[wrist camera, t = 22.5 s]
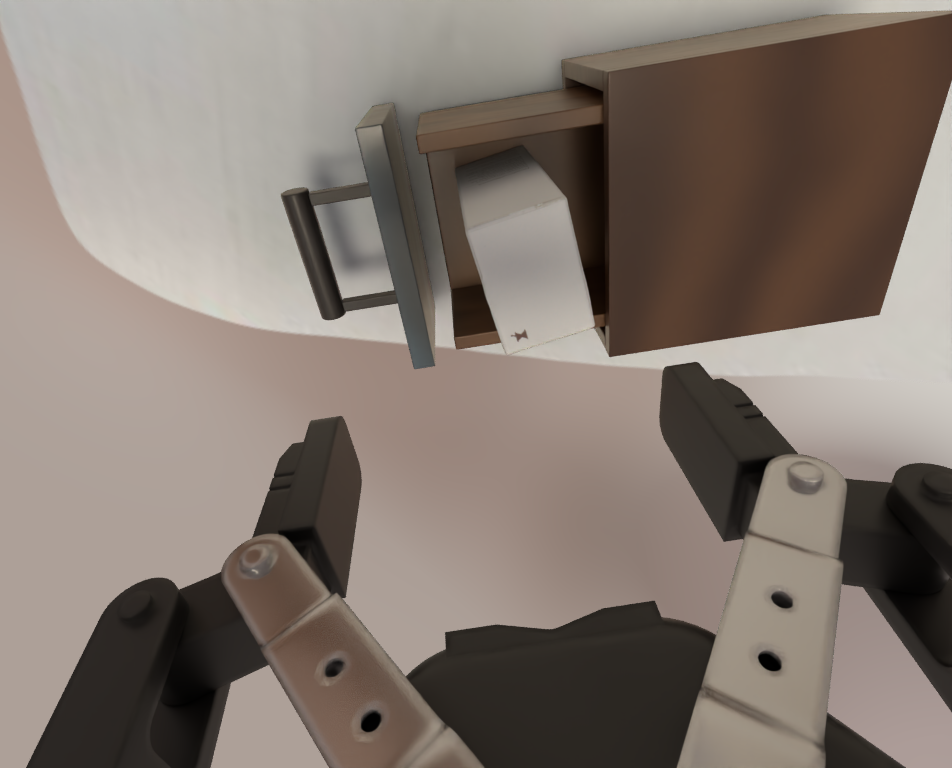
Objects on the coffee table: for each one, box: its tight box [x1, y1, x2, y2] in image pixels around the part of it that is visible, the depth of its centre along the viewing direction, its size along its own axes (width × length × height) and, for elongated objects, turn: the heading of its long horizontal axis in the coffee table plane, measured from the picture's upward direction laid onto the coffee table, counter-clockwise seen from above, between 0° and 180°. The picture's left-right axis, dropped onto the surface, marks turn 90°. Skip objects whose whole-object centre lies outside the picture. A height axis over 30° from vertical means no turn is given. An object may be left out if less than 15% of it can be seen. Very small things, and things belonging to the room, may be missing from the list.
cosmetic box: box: [455, 146, 595, 355], centre depth 27 cm, size 6×4×12 cm
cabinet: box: [562, 11, 952, 357], centre depth 29 cm, size 15×14×10 cm
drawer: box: [281, 85, 606, 369], centre depth 30 cm, size 18×12×8 cm
